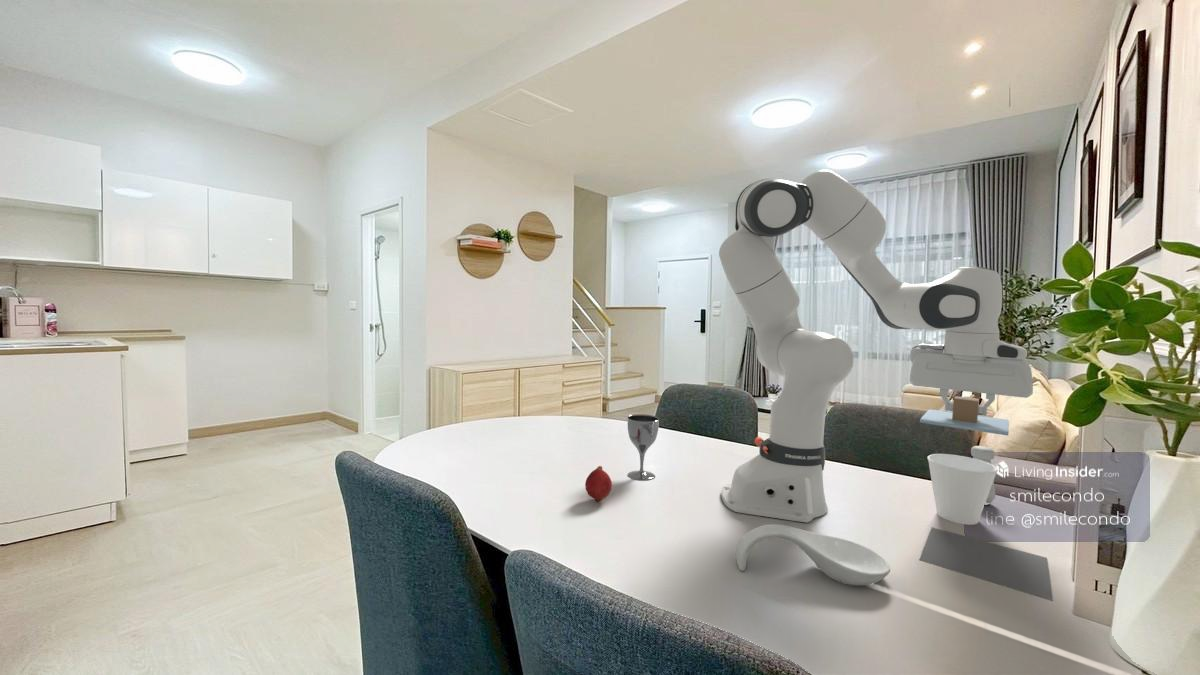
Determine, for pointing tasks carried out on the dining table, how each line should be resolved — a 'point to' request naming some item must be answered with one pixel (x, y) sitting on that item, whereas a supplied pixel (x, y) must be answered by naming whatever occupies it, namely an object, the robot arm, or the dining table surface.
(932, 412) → the cover sheet
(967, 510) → the cup
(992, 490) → the salt shaker
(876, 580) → the spoon rest
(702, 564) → the dining table surface
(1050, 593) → the sheet mat
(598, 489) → the onion
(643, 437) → the wine glass
